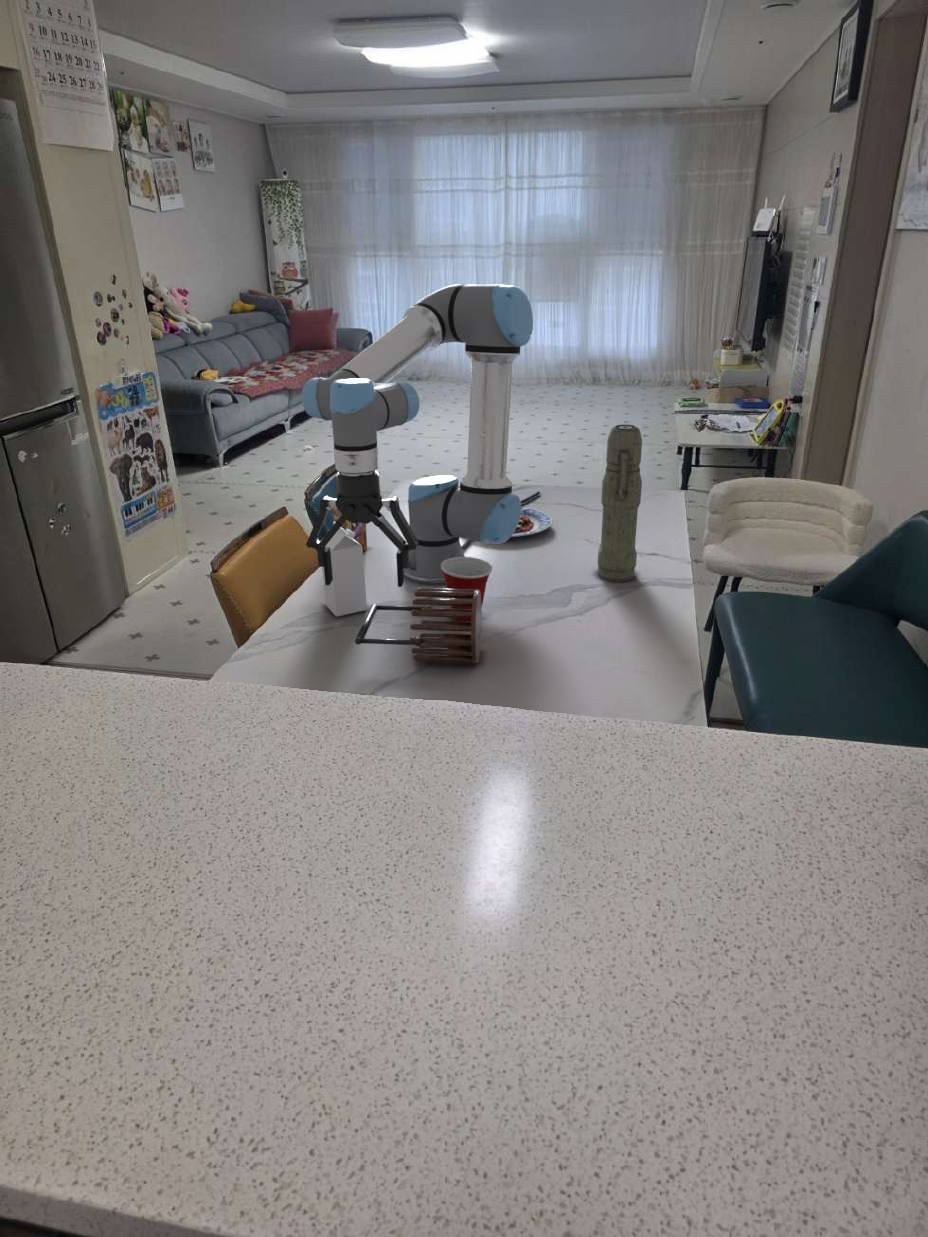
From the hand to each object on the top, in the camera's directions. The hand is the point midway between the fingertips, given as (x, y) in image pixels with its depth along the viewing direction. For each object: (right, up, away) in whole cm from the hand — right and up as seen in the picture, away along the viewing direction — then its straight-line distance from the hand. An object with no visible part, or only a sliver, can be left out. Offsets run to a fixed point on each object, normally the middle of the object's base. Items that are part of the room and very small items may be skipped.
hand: (365, 583), depth 153 cm
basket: (+10, -14, +6) cm, 18 cm away
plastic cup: (+19, -6, +22) cm, 30 cm away
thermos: (+55, +4, +43) cm, 69 cm away
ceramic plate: (+30, +18, +75) cm, 83 cm away
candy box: (-10, +10, +59) cm, 61 cm away
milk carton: (-7, -5, +28) cm, 29 cm away
